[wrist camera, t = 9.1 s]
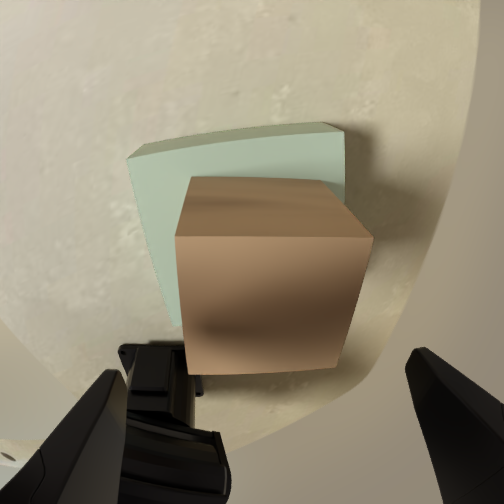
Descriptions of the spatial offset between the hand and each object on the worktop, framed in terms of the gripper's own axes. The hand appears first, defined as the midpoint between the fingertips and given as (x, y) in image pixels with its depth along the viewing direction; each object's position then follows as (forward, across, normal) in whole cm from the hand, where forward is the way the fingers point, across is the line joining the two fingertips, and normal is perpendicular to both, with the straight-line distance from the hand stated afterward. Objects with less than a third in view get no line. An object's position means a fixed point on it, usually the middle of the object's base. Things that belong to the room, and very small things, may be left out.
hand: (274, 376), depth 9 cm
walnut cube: (+8, 0, 0) cm, 8 cm away
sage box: (+12, 0, 0) cm, 12 cm away
